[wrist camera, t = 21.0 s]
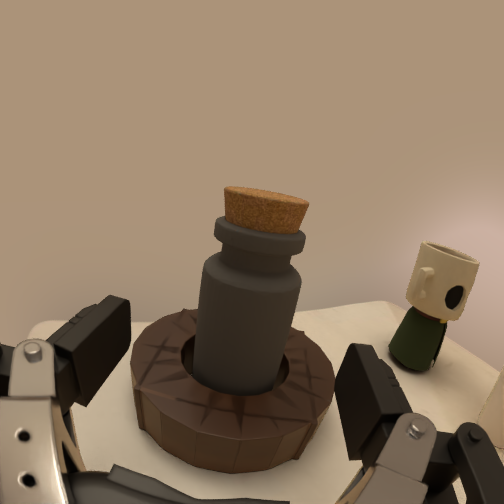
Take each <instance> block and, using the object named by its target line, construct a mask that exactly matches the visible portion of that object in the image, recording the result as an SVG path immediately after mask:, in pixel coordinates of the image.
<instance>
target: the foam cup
mask: <svg viewBox="0 0 504 504" xmlns="http://www.w3.org/2000/svg"><path fill="white" fill-rule="evenodd" d="M478 424H479V426H480V427H482V428H483V429H484V430H485V431H486V433H487V434H488V436H489V438H490V440H491V442H492V444H493V445H494V446H496V447H499V448H504V366H503V368H502V371H501V373H500V375H499V377H498V379H497V381H496V383H495V386H494V388H493V390H492V392H491V394H490V396H489V397H488V399H487V401H486V403H485V405H484V407H483V409H482V411H481V413H480V414H479V419H478Z"/></svg>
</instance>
